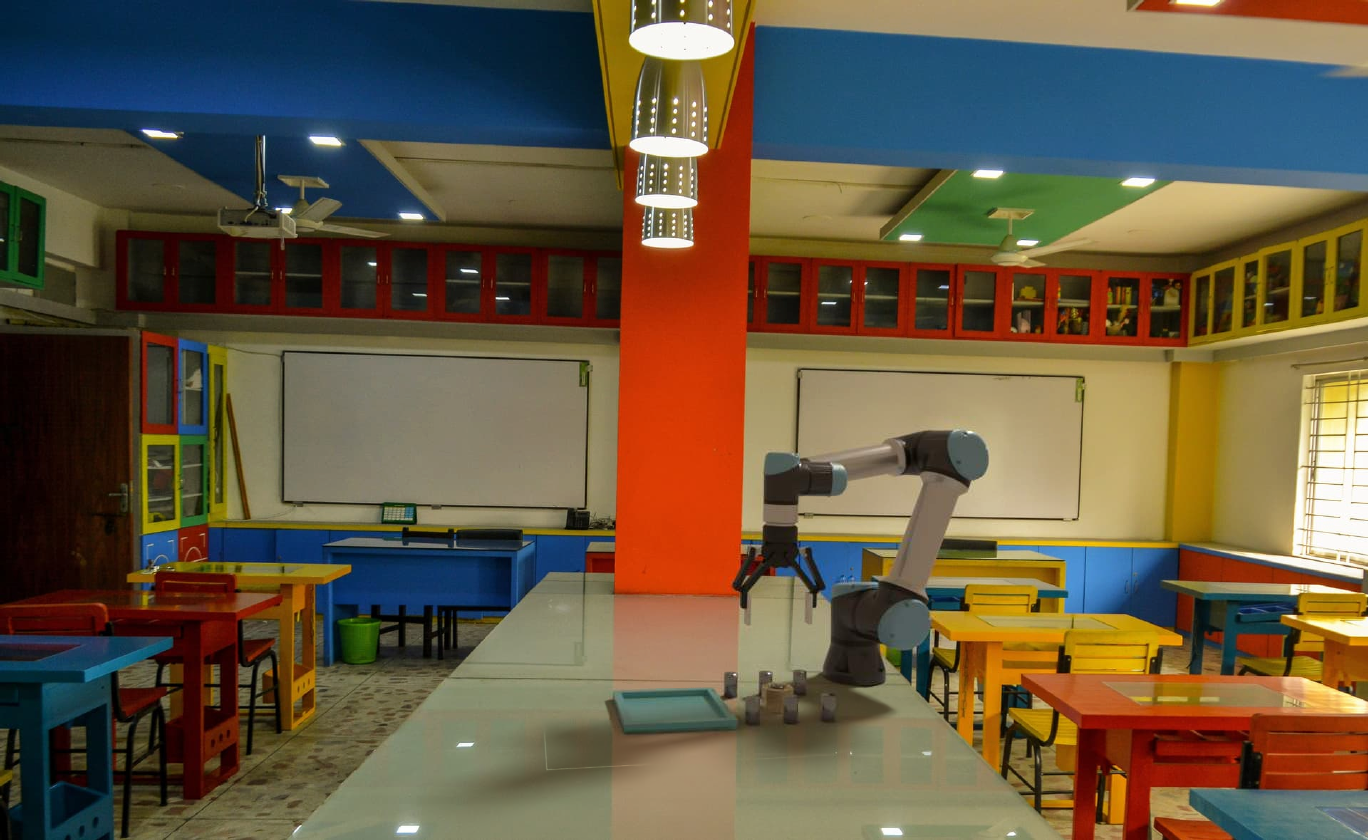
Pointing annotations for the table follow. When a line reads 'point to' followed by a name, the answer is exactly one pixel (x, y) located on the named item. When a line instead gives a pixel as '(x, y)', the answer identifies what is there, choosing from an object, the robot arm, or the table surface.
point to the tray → (672, 710)
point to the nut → (775, 696)
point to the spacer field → (788, 700)
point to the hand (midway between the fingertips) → (778, 623)
